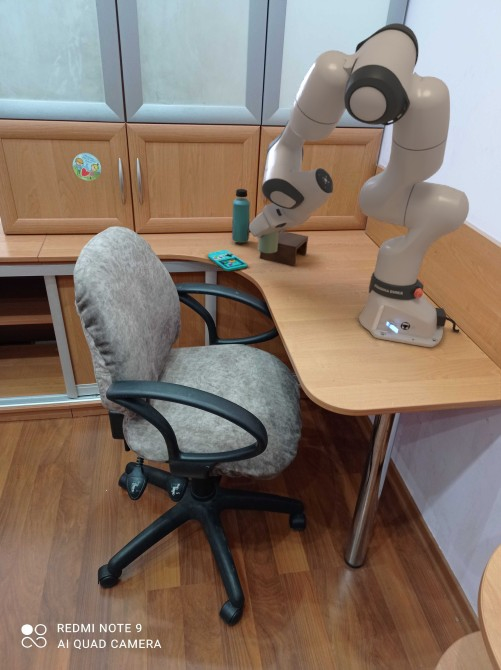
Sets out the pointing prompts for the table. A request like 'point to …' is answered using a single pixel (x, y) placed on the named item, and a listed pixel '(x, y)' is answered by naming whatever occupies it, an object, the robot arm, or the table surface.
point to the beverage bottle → (241, 217)
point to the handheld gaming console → (227, 260)
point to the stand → (288, 248)
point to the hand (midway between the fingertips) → (267, 233)
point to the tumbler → (268, 243)
